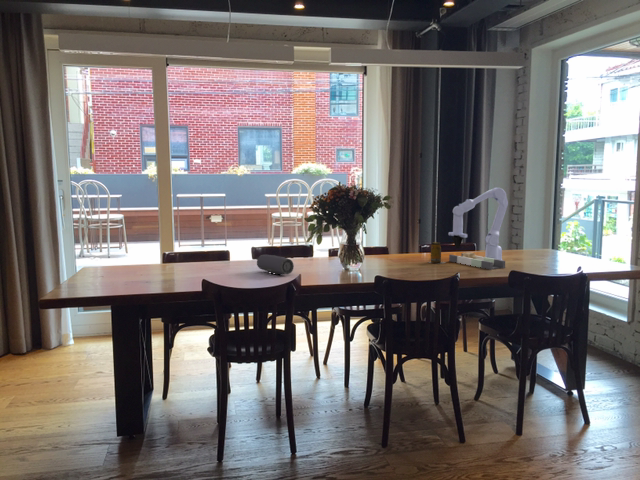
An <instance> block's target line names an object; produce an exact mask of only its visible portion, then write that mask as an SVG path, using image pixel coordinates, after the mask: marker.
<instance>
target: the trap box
mask: <svg viewBox="0 0 640 480" xmlns="http://www.w3.org/2000/svg"><path fill="white" fill-rule="evenodd" d="M463 253H464V252H462V253H461V255H456V254H449V256H448V257H449V259H448V261H449V262H451V263H455V262H456V263H457V264H460V263H461V264H462V265H465V264H466V266H470V265H471V267H475V266H476V267H477V268H480V267H481V269H485V268H486V270H491V271H492V270H494V269H493V266H498V267H503V268H502V269H505V268H506V260H504V259H502V260H498V259H493V258H487V257H485V256H482V255H476V254H475V259H473V258H467V257H463ZM476 267H475V268H476Z"/></svg>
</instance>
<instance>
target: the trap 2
mask: <svg viewBox="0 0 640 480" xmlns="http://www.w3.org/2000/svg"><path fill="white" fill-rule="evenodd" d="M498 269H504V268H503V267H498V266H493V269H492V270H498Z"/></svg>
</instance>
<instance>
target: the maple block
mask: <svg viewBox="0 0 640 480" xmlns="http://www.w3.org/2000/svg"><path fill="white" fill-rule="evenodd" d="M462 253H463V257H467V258H473V259H475V255H476V252H472V251H471V252H470V251H467V252H462Z"/></svg>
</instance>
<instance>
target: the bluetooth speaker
mask: <svg viewBox="0 0 640 480" xmlns="http://www.w3.org/2000/svg"><path fill="white" fill-rule="evenodd" d="M256 266H257V268H258V269H261V270H263V271H266V272H267V273H268V272H271V273H275V274H282V275H289V274H291V273H292V272H293V271H294V262H293V261H292V260H291V259H290V258H287V257H284V256H279V255H273V254H272V255H271V254H260V255H259V256H258V257H257V260H256Z"/></svg>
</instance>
